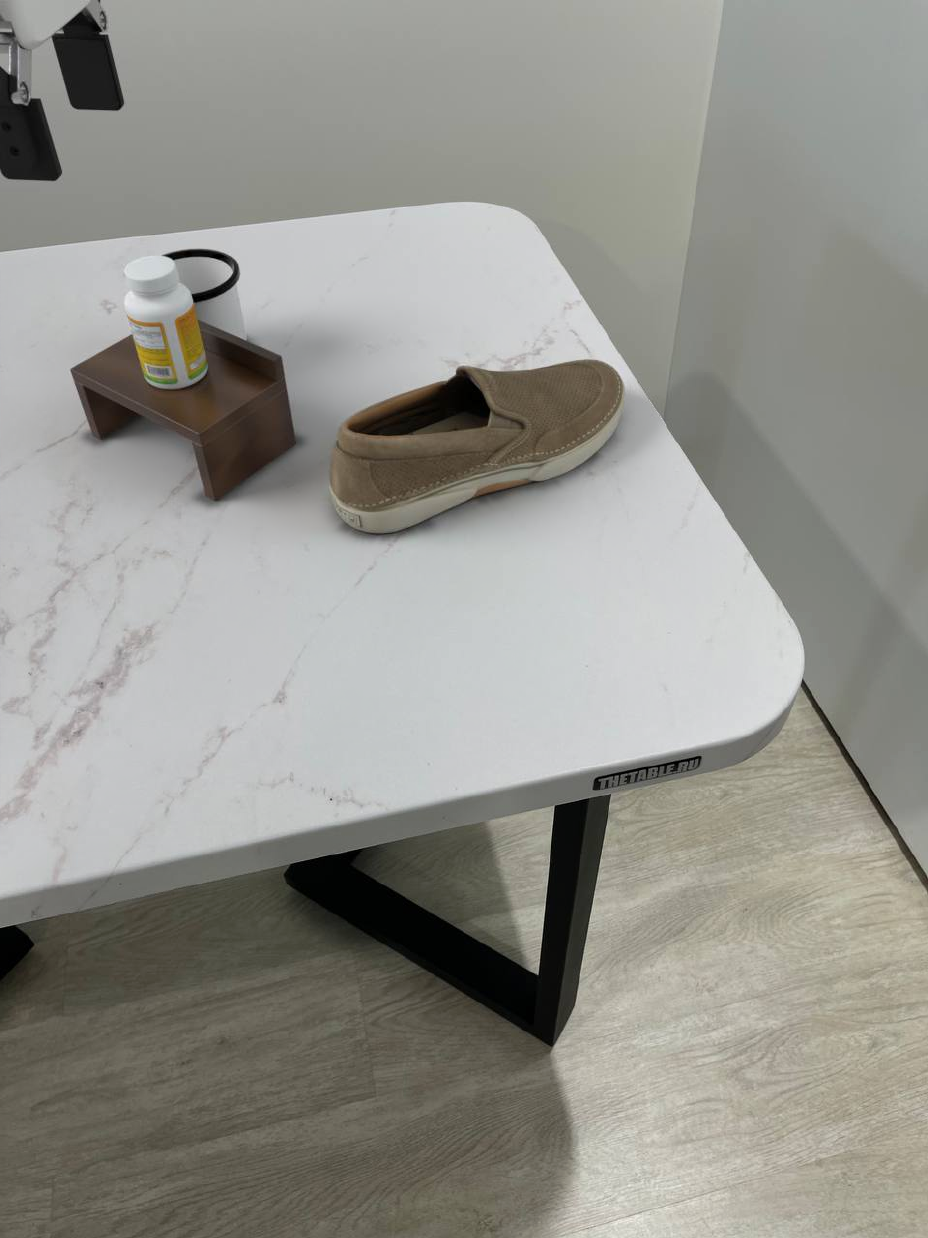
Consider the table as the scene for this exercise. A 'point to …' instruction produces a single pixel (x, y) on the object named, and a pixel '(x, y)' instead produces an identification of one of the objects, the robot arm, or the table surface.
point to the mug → (212, 287)
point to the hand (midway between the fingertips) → (68, 140)
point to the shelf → (198, 404)
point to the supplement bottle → (164, 324)
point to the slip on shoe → (469, 440)
